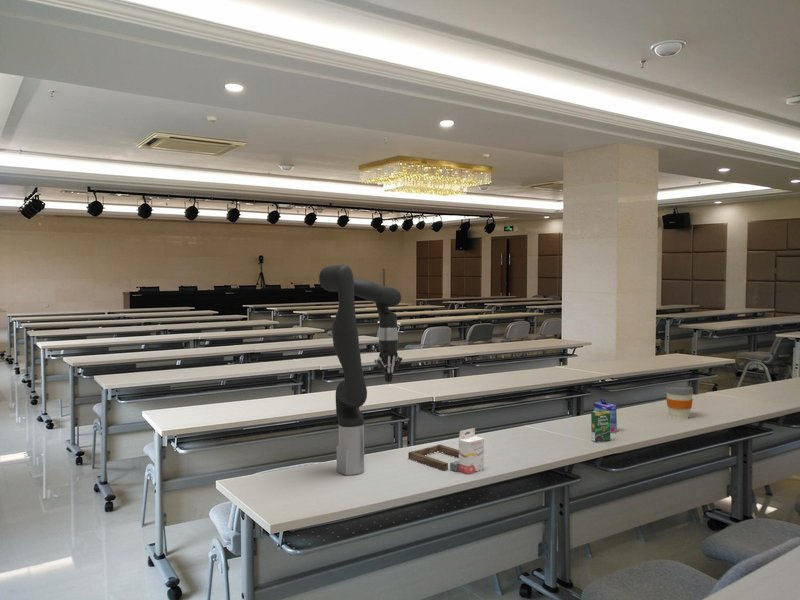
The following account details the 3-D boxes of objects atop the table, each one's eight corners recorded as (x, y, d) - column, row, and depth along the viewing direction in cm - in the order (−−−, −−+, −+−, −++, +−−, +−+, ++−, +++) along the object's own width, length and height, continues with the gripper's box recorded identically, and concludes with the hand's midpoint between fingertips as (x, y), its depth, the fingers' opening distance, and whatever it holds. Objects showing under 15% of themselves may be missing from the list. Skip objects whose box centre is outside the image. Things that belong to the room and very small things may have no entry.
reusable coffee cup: (698, 419, 294) (698, 389, 294) (672, 420, 294) (672, 389, 294) (685, 414, 307) (685, 384, 306) (661, 414, 307) (661, 385, 306)
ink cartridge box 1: (468, 474, 214) (467, 433, 214) (458, 471, 218) (458, 431, 218) (484, 469, 220) (484, 429, 219) (474, 466, 224) (474, 427, 223)
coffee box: (594, 442, 255) (594, 412, 254) (590, 441, 257) (590, 410, 257) (610, 441, 257) (610, 410, 257) (606, 439, 260) (606, 409, 259)
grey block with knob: (456, 471, 217) (455, 444, 217) (449, 468, 220) (449, 442, 220) (478, 464, 225) (478, 438, 225) (471, 462, 228) (471, 436, 227)
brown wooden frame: (444, 471, 219) (444, 464, 219) (408, 458, 234) (408, 452, 234) (476, 461, 230) (476, 455, 229) (440, 450, 245) (440, 444, 245)
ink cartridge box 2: (593, 428, 279) (593, 397, 279) (602, 427, 281) (602, 396, 281) (607, 433, 270) (607, 401, 270) (617, 432, 272) (617, 400, 272)
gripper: (380, 340, 232) (381, 385, 233) (407, 338, 241) (407, 381, 241) (369, 339, 238) (369, 382, 238) (395, 336, 246) (395, 379, 247)
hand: (388, 381), depth 240 cm, fingers closed
